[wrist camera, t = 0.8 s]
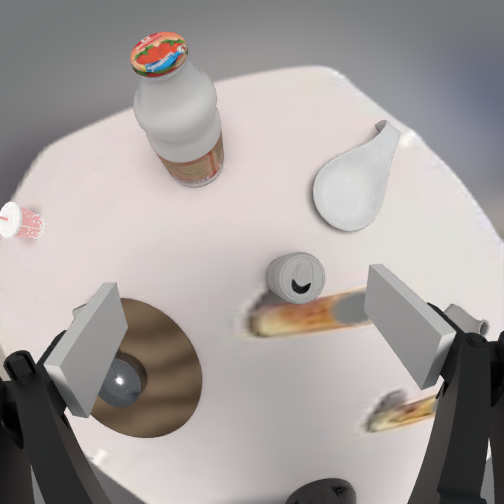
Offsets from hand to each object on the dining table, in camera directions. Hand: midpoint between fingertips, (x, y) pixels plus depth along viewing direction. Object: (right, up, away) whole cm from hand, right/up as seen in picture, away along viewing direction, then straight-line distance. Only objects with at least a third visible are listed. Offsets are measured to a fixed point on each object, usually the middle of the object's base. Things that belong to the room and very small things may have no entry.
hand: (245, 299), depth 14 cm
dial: (-23, -14, +28) cm, 39 cm away
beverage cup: (-40, +7, +30) cm, 51 cm away
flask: (+40, -12, +33) cm, 54 cm away
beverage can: (+6, -2, +32) cm, 33 cm away
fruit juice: (-9, +17, +32) cm, 38 cm away
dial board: (-21, -18, +29) cm, 40 cm away
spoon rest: (+19, +16, +34) cm, 42 cm away
